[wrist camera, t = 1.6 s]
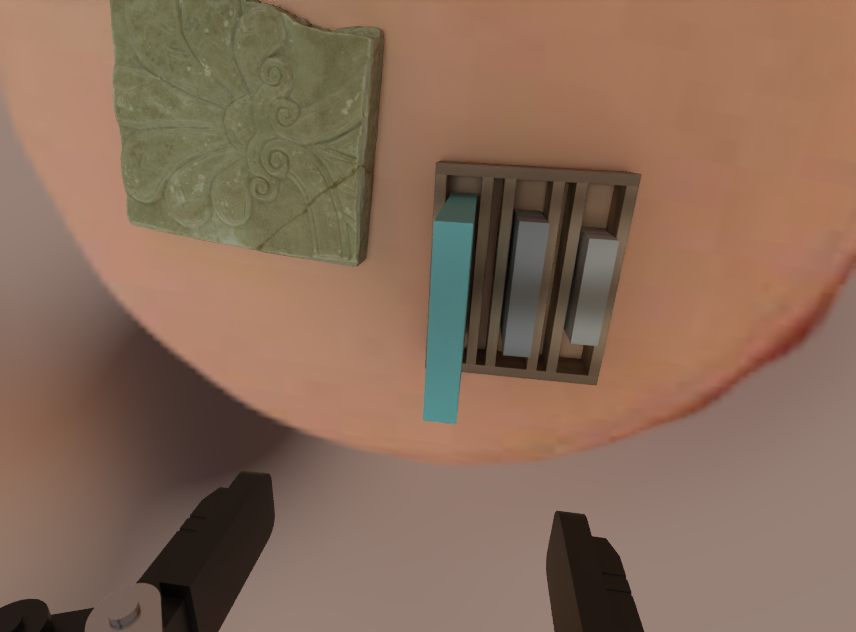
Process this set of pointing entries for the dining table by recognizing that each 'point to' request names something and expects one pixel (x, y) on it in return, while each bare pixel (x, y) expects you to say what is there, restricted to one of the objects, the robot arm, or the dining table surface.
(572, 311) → the offcut short
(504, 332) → the offcut tall
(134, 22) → the decorative tile
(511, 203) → the rack
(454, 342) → the teal sheet
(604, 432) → the dining table surface
